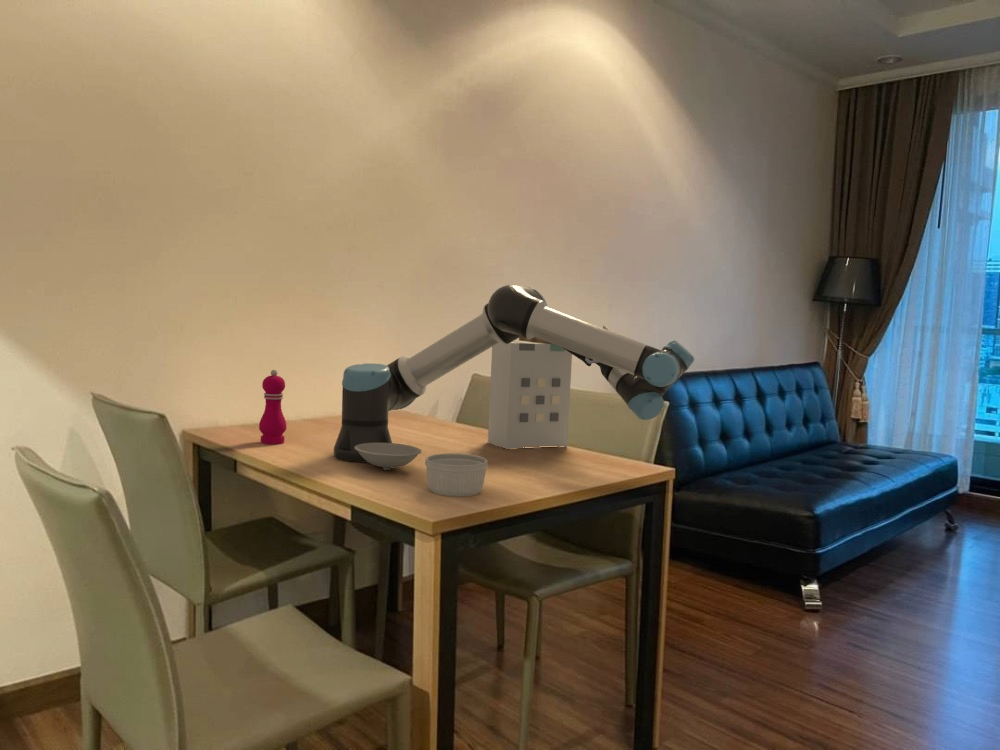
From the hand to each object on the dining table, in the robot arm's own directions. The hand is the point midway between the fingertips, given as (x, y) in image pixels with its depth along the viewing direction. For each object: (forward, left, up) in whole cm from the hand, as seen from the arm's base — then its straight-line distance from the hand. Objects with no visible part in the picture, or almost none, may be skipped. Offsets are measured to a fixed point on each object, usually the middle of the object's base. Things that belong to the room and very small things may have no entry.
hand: (582, 328), depth 211 cm
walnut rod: (+16, +4, -5) cm, 17 cm away
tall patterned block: (+17, +10, -35) cm, 40 cm away
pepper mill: (+16, +82, -35) cm, 90 cm away
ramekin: (-41, +40, -35) cm, 67 cm away
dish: (-19, +53, -35) cm, 66 cm away
